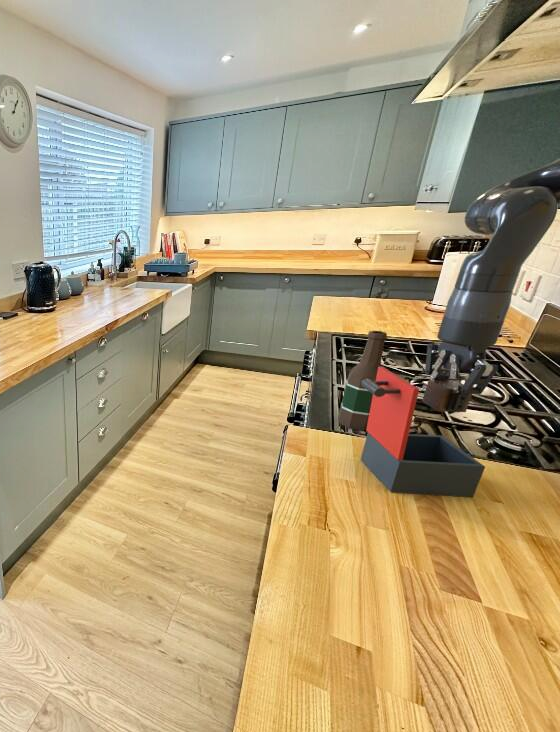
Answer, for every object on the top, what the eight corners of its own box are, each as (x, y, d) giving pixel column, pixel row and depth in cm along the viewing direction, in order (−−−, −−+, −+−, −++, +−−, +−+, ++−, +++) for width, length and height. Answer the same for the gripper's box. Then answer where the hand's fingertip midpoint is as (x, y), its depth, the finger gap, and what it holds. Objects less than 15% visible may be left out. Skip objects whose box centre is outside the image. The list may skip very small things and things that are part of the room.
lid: (382, 366, 83) (354, 367, 84) (419, 388, 72) (386, 389, 73) (370, 430, 88) (343, 430, 89) (402, 460, 77) (372, 459, 78)
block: (421, 401, 80) (428, 379, 78) (448, 402, 79) (456, 380, 78) (437, 411, 76) (444, 388, 74) (465, 412, 75) (474, 389, 74)
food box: (432, 463, 88) (441, 435, 86) (473, 497, 77) (485, 466, 75) (360, 459, 91) (367, 432, 88) (390, 492, 80) (399, 462, 78)
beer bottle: (367, 434, 100) (392, 338, 91) (331, 423, 106) (352, 332, 97) (379, 424, 104) (404, 331, 95) (344, 414, 110) (365, 326, 101)
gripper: (537, 325, 64) (497, 423, 70) (468, 306, 77) (440, 391, 83) (480, 325, 65) (446, 422, 72) (422, 307, 78) (398, 390, 85)
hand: (443, 404), depth 78 cm, fingers closed on block, 4 cm apart
